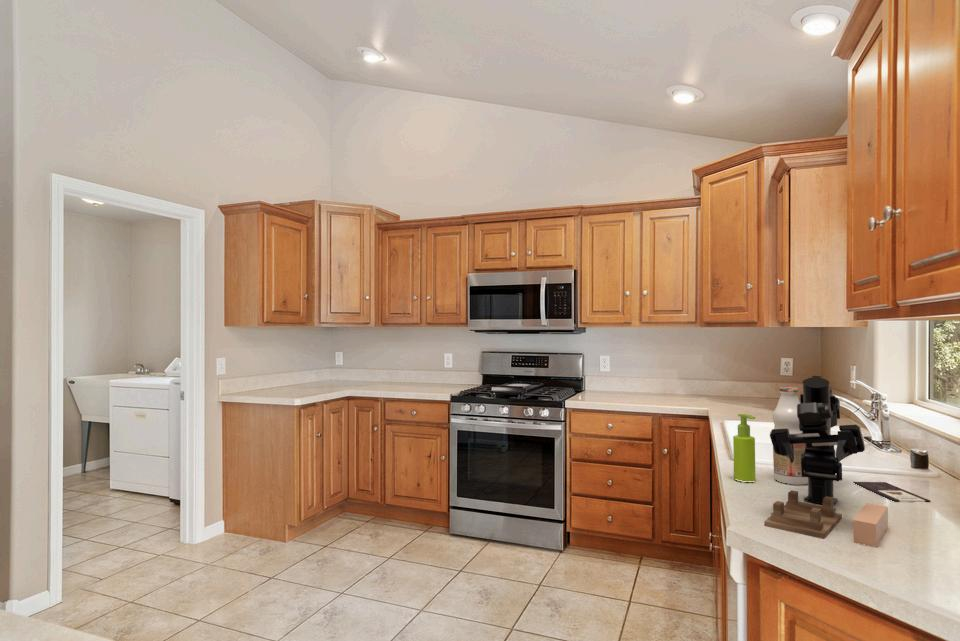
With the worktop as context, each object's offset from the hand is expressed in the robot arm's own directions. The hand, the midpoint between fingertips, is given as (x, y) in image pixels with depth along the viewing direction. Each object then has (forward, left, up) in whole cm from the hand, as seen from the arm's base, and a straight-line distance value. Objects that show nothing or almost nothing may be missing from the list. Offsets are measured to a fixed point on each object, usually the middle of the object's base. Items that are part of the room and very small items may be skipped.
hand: (813, 460), depth 125 cm
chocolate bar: (-47, +8, -16) cm, 50 cm away
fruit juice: (-41, -15, -16) cm, 47 cm away
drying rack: (-4, -3, -16) cm, 16 cm away
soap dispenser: (-32, -25, -16) cm, 44 cm away
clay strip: (-5, +10, -16) cm, 19 cm away
